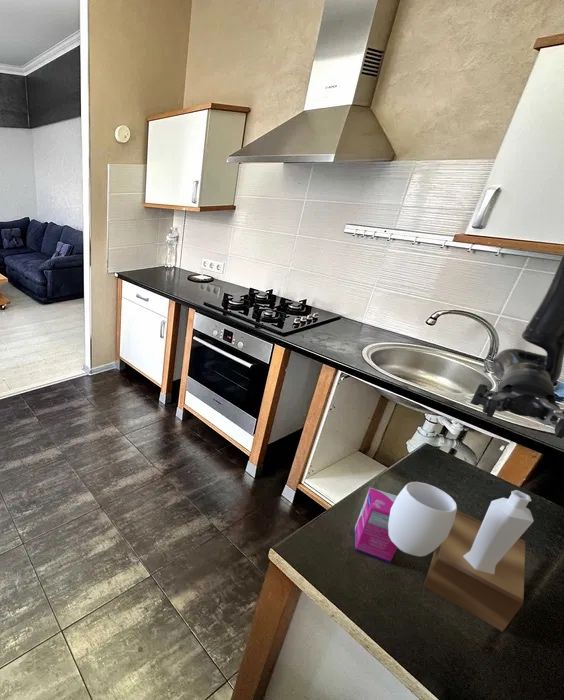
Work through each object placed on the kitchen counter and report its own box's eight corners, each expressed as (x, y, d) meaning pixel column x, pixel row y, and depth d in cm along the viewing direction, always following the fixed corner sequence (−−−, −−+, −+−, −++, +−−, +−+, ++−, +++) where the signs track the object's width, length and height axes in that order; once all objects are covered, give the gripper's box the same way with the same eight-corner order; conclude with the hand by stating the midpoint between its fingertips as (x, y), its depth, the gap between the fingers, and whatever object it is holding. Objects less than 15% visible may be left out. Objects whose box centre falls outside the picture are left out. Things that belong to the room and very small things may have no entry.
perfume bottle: (486, 580, 59) (532, 510, 53) (456, 556, 63) (494, 488, 57) (506, 572, 61) (552, 504, 55) (475, 549, 64) (515, 482, 58)
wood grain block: (438, 533, 76) (451, 508, 73) (507, 567, 69) (525, 541, 66) (423, 586, 66) (438, 558, 63) (502, 632, 59) (523, 604, 56)
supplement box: (352, 528, 77) (369, 485, 72) (387, 541, 74) (407, 498, 69) (353, 550, 72) (371, 506, 67) (390, 565, 69) (412, 520, 65)
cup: (360, 559, 70) (397, 473, 62) (408, 576, 67) (453, 488, 59) (365, 593, 64) (406, 503, 56) (417, 613, 61) (469, 522, 53)
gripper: (485, 363, 79) (478, 389, 69) (589, 387, 70) (600, 421, 59) (470, 394, 82) (462, 423, 72) (569, 421, 73) (576, 459, 62)
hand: (525, 422), depth 66 cm, fingers open, 8 cm apart
